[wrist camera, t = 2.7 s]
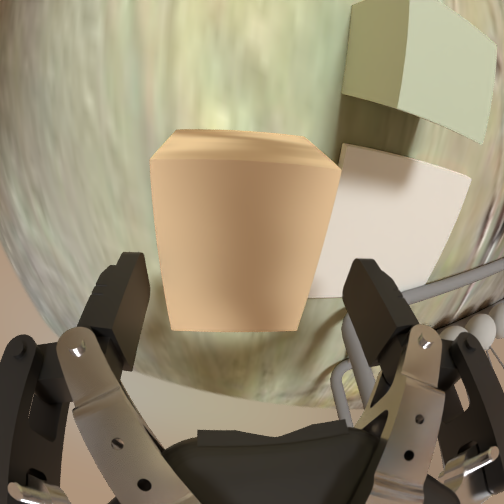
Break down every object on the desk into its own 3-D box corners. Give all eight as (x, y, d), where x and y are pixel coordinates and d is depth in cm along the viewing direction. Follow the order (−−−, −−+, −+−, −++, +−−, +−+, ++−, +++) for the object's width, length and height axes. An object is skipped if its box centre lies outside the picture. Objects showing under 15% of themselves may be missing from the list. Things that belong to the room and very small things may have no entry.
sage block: (340, 93, 11) (396, 108, 7) (351, 5, 8) (410, -16, 4) (419, 117, 11) (482, 145, 7) (430, 40, 9) (496, 45, 5)
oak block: (182, 264, 16) (171, 330, 12) (177, 129, 12) (149, 159, 7) (280, 266, 17) (296, 330, 13) (303, 135, 12) (342, 170, 8)
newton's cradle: (325, 367, 25) (359, 528, 12) (333, 305, 18) (397, 552, 5) (512, 295, 24) (560, 393, 11) (543, 238, 17) (610, 347, 4)
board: (305, 291, 18) (307, 298, 18) (342, 142, 12) (347, 145, 12) (417, 287, 19) (420, 292, 19) (466, 175, 13) (471, 179, 13)
